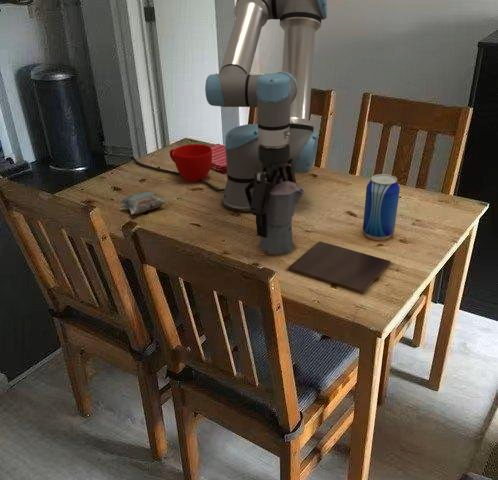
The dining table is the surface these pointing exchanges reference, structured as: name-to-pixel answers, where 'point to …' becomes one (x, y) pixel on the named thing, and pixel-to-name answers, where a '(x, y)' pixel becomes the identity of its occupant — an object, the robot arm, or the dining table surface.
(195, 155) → the ceramic cup
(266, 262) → the dining table surface
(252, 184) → the moka pot
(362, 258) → the walnut trivet
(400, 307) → the dining table surface
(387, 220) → the beer can
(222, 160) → the dish towel
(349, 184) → the dining table surface
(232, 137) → the robot arm
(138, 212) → the packaged food
